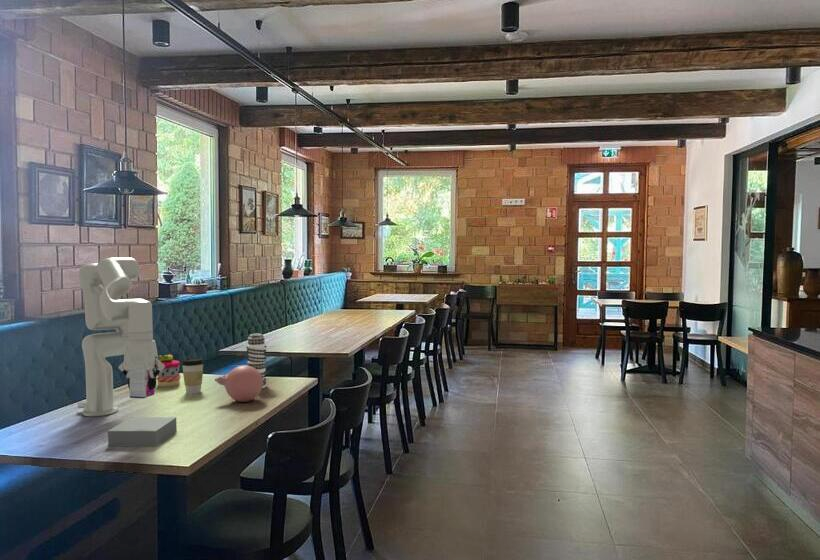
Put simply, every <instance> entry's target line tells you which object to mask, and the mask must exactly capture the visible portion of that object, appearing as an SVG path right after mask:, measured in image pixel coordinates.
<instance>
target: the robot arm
mask: <svg viewBox="0 0 820 560" xmlns="http://www.w3.org/2000/svg"><path fill="white" fill-rule="evenodd" d="M140 273H141V268H140V263H139V262H138V261H137V260H136V259H135V258H133V257H105V258H103V259H101V260H100V261H98V262H97V263H96V262H95V263H86V264H84V265H82V266H80V267H79V270H78V281H79V284H80V285H79V286H80V288H81V290H82V293H83V295H84V296H83V297H84V317H85V320H84V321H85V326H86V327H87V329H88V330H91V331H103V330H116V331H114V332H113V331H111V332H100V333H99V332H98V333H92V334H89V335H86V336H85V337H84V338H83V339H82V342H81V349H82V353H83V359H84V366H85V368H84V369H85V370H84V371H85V390H86V391H85V392H86V395H85V396H86V401H79V402H78V403H77V409H82V408H83V410H82V412H81V413H82V415H83V416H85V417H102V416H109V415H112V414H114V413H116V412H118V411H119V407H118V406H116V405H114V377H113V375H114V374H113V366H112V364H111V363H110V362H109V361H108V360H107V359H106V358H109V357H116V356H123V362H121V364H119V365H118V370H119V371H120V372H122V374H123V375H124V376H125V377H126V379H127V386H128V390H129V391H130V371H134V370H136V368H137V366H138V365H145V371H148V372H149V375H150V378H149V390H153V389H154V390H156V388H157V379H156V378H157V377H158V374H159V373H160V372H161V371H162V370H163V369H164V368H165V365H163V364H162V363H161V362H160V361H159V360H160V359H159V355H158V354H159V353H158V348H157V344H156V340H155V339H154V333H153V332H154V330H153V304H152V302H151V301H150V300H146V299H144V298H126V299H125V298H122V299H118V298H121V297H123V296H125V295H126V294H128V293H129V292H130V290H131V289H132V285H133V284H132V282H133V281H135V280H136V279H138V278H139V276H140ZM157 367H159V368H158V369H157Z"/></svg>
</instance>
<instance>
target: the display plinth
mask: <svg viewBox="0 0 820 560" xmlns="http://www.w3.org/2000/svg"><path fill="white" fill-rule="evenodd" d="M177 432H178V429H177V417H175V416H173V417H158V416H157V417H155V416H154V417H153V416H151V417H149V416H148V417H147V416H146V417H144V416H143V417H142V416H141V417H139V416H138V417H137V416H136V417H135V416H134V417H132V416H131V417H129V418H128V419H126V420H125V421H123V422H121V423H120V424H118V425H116V426H114V427H112V428H110V429H108V430H107V445H108V446H107V447H157V446H158V445H160V444H161V443H162V442H165V440H167V439H168V438H170V436H172V435H174V434H175V433H177Z"/></svg>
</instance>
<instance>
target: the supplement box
mask: <svg viewBox="0 0 820 560" xmlns="http://www.w3.org/2000/svg"><path fill="white" fill-rule="evenodd" d="M149 378H150V375H149V372H148V371H145V365H138V366H137V368H136V370H134V371H130V390H129V398H130V399H143V400H144V399H146V398H148V397H151V396H154V395H155V389H153V390H149Z"/></svg>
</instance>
